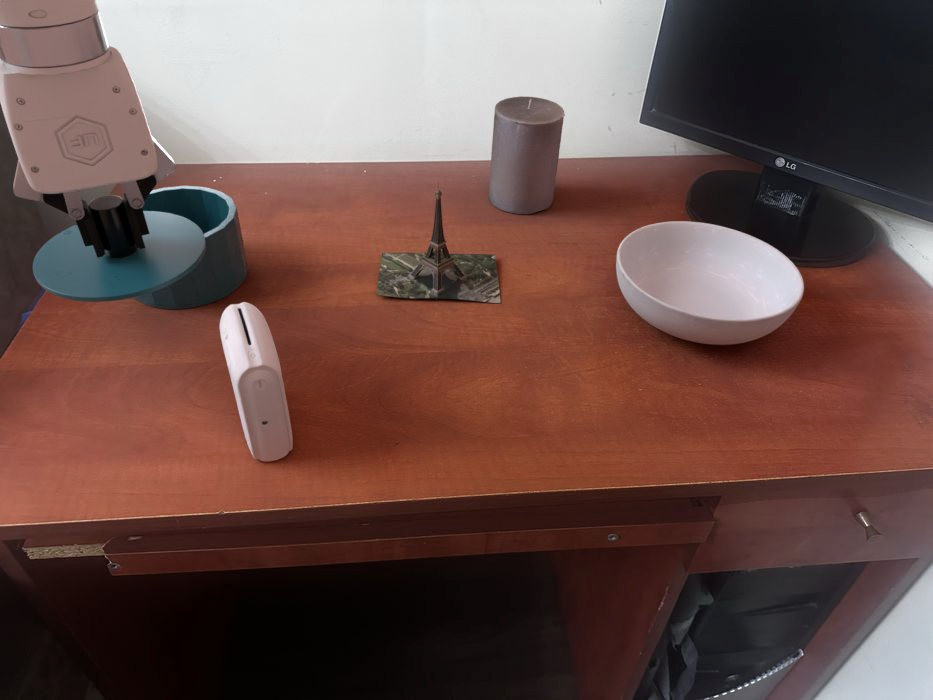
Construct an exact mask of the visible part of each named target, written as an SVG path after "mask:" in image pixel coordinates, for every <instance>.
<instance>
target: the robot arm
mask: <svg viewBox="0 0 933 700" xmlns="http://www.w3.org/2000/svg"><path fill="white" fill-rule="evenodd" d="M0 105H1V109H2V113H3V117H4V120H5V123H6V126H7V129H8V133H9V135H10V138H11V141H12V144H13V147H14V150H15V154H16V156H17V159H18V160H17V165H16V170H15V173H14V179H13V184H12V185H13V186H12V187H13V188H12V189H13V195H14V196H15V197H17V198H21V199H25V200H30V201H34V202H39V203H40V202H41V203H45V204H46V205H48V206H50V207H52V208H54V209H57V210H58V211H61V212H63V213H64V214H67V215H68V216H69V218H71V219H72V220H73V221H75V223H76V225H77V226H78V228H79V231H80V234H81V237H82V239H83V242H84V245H85V247H86V246H91V245H93V247H94V250H95V252H96V255H97V258H98V257H103V255H105V250H104V247H103V244H102V241H101V238H100V235H99V233H98V230H97V227H96V224H95V221H94V218H93V215H92V213H91V210H90V208H89V204H88V202H87V201H86V200H85V199H83V198H82V194H81V191H83V190H91V189H97V188H100V187H107V186H113V185H118V184H121V186H122V189H123V191H124V193H123V202H124V206H125V211H126V214H127V217H128V221H129V224H130V227H131V230H132V233H133V237H134V240H135V243H136V246H137V248H140V249H143V248H145V244H144V241H143V238H142V235H147V234H150V233H149V230H148V226H147V223H146V219H145V216H144V213H143V209H142V207H143V206H144V201H145V199H146V198H147V197H148V195H149V194H150V193H151V191H152V190H154V188H155V187H156V186H157V183H159V182H162V181H163V180H165V179H166V178H167V177H168V176H170V175H172V174H173V173H174V172H175V171H176V170H177V165H176V163H175V161H174V159H173V157H172V156H171V155H170V154H169V153H168V152H167V151H166V150H165V149H164V147H162V145H161V144H160V143H159V142H158V141H157V139H156V138H155V137H153V135H152V132H151V130H150V126H149V123H148V120H147V116H146V114H145V110H144V107H143V104H142V100H141V98H140V95H139V93H138V90H137V87H136V83H135V81H134V79H133V77H132V75H131V73H130V70H129V67H128V65H127V64H126V61H125V59H124V58H123V56H122V54H121V53H120V52H119V50H118V49H117V48H116V47H113V46H110V45H109V43H108V39H107V35H106V31H105V28H104V24H103V21H102V18H101V14H100V10H99V8H98V4H97V0H0Z"/></svg>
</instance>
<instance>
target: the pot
mask: <svg viewBox="0 0 933 700" xmlns="http://www.w3.org/2000/svg"><path fill="white" fill-rule="evenodd" d="M142 209H143V211H156V212H165V213H171V214H175V215H178V216H181V217H184V218H186V219H188V220H190V221H192V222H193V223H195V224H196V225H197V226H198V227H199V228H200V229H201V230H202V232H203V234H204V237H205V241H206V250H205V254H204V256H203V258H202V260H201V261H200V262H199V264H198V265H197V266H196V267H195V268H194V269H193V270H192V271H191V272H189V273H188V274H187V275H186V276H184V277H183V278H181V279H179V280H178V281H176V282H174V283H172V284H170V285H168V286H166V287H164V288H162V289H159V290H157V291H154V292H151V293H148V294H145V295H141V296H137V297H133V299H135V300H136V301H138V302H140V303H142V304H144V305H146V306H149V307H152V308H156V309H157V308H158V309H165V310H166V309H167V310H180V309H190V308H191V309H192V308H197V307H202V306H205V305H208V304H211V303H214V302H216V301H219V300H222V299H223V298H225V297H227V296H229V295H230V294H231V293H233V292H235V291H236V290H237V289H238V288H239V287H240V286H241V285H242V284H243V283H244V281H245V279H246V277H247V275H248V259H247V255H246V249H245V244H244V243H245V242H244V239H243V233H242V227H241V223H240V218H239V213H238V208H237V205H236V203H235V201H234V200H233V198H232V197H231V196H229V195H228V194H226V193H225V192H222V191H221V190H217V189H213V188H210V187H205V186H197V185H194V186H193V185H178V186H167V187H161V188H156V189H153V190H152V191H151V193H150V194H149V195H148V197H147V198H146V199H145V201H144V206H143V207H142Z"/></svg>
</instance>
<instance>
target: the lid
mask: <svg viewBox="0 0 933 700" xmlns="http://www.w3.org/2000/svg"><path fill="white" fill-rule="evenodd" d="M123 200H124V198H122V197H121V196H119V195H115V194H107V195H102V196H98V197H96V198H93V199H92V200H91V201H90V202H89V204H88V206H89V208H90V210H91V213H92V215H93V218H94V221H95V224H96V227H97V230H98V233H99V235H100V238H101V241H102V244H103V247H104V250H105V255H103V257H98V258H97V255H96V252H95V250H94V247H93V245H91V246H86V247H85V245H84V242H83V239H82V237H81V234H80V231H79V228H78V226H77V224H75V225H72V226H70V227H68V228H66V229H64V230H62V231H61V232H59V233H57V234H56V235H54V236H53V237H51V238H50V239H49V240H48V241H46V242H45V243H44V244H43V245H42V247H41V248H40V249H39V250H38V251H37V252H36V254H35V256H34V259H33V261H32V273H33V277H34V278H35V280H36V282H37V283H38V284H39V286H40V287H41V288H42V289H44V290H45V291H47V292H48V293H50V294H52V295H53V296H56V297H59V298H62V299H65V300H70V301H77V302H88V303H90V302H91V303H101V302H104V303H105V302H114V301H121V300H127V299H132V298H133V299H134V297H137V296H141V295H145V294H148V293H151V292H154V291H157V290H159V289H162V288H164V287H166V286H168V285H170V284H172V283H174V282H176V281H178V280H179V279H181V278H183V277H184V276H186V275H187V274H188V273H189V272H191V271H192V270H193V269H194V268H195V267H196V266H197V265H198V264H199V262H200V261H201V260H202V258H203V256H204V254H205V250H206V241H205V237H204V234H203V232H202V230H201V229H200V228H199V227H198V226H197V225H196V224H195V223H193V222H192V221H190V220H188V219H186V218H184V217H181V216H178V215H175V214H171V213H165V212H156V211H143V213H144V216H145V219H146V223H147V226H148V230H149V233H150V234H147V235H142V238H143V241H144V244H145V248H143V249H140V248H137V246H136V243H135V240H134V237H133V233H132V230H131V227H130V224H129V221H128V217H127V214H126V211H125V206H124V202H123Z"/></svg>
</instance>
